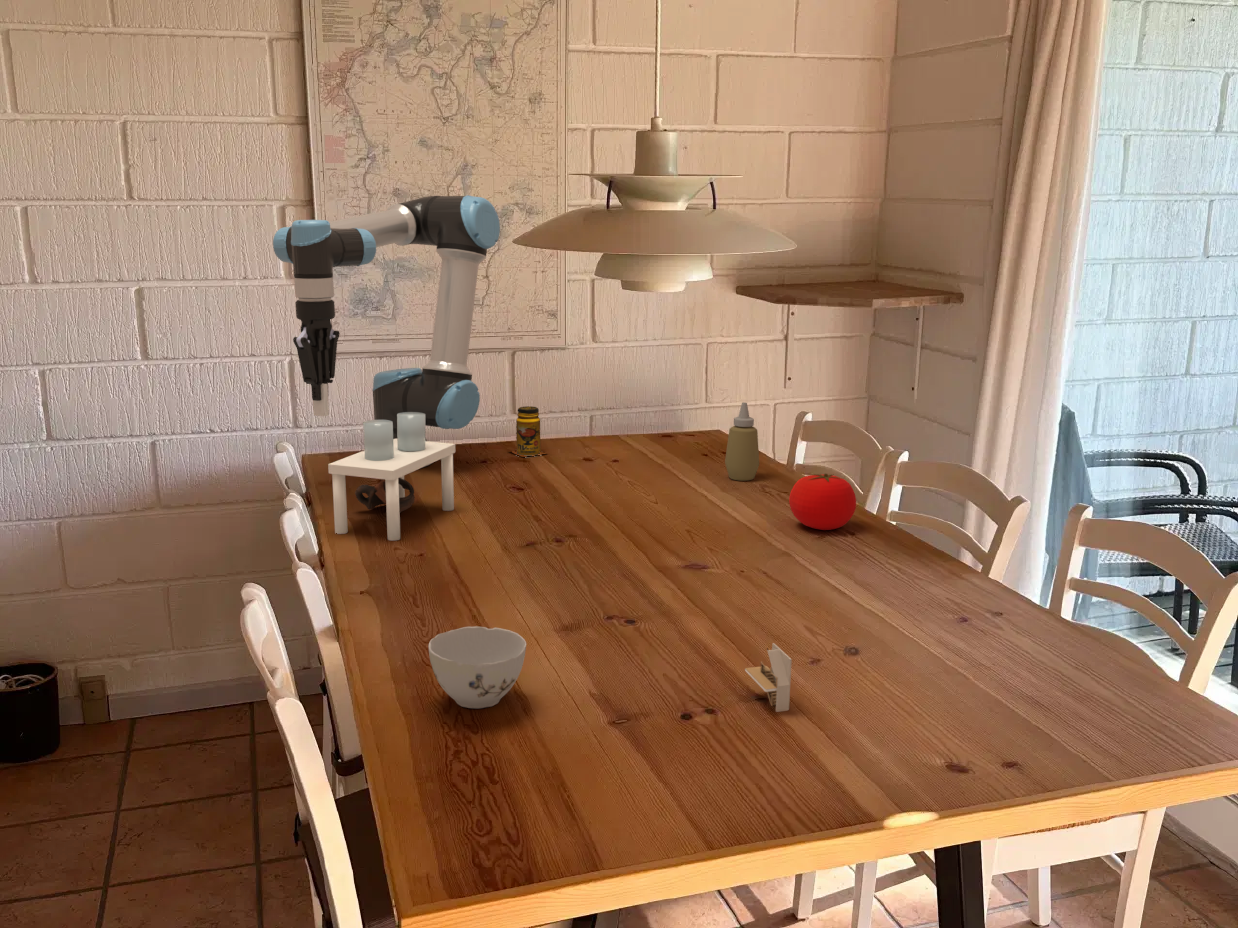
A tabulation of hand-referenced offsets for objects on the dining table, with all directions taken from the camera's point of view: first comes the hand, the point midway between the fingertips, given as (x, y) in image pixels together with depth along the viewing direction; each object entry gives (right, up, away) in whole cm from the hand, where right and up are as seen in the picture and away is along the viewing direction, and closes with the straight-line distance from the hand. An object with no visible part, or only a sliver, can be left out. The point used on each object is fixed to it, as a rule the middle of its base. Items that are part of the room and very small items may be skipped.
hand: (321, 415), depth 227 cm
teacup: (+42, -41, -81) cm, 100 cm away
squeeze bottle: (+90, -14, +34) cm, 97 cm away
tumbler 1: (+14, -9, -10) cm, 19 cm away
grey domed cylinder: (+19, -7, -2) cm, 20 cm away
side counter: (+16, -21, -3) cm, 27 cm away
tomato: (+101, -23, -4) cm, 104 cm away
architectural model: (+81, -42, -81) cm, 122 cm away
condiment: (+37, -7, +57) cm, 68 cm away
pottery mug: (+12, -20, +3) cm, 24 cm away
